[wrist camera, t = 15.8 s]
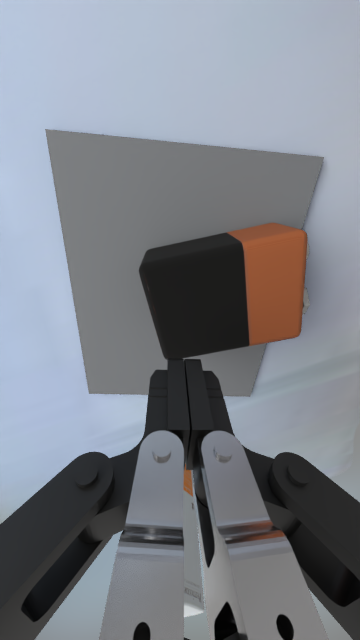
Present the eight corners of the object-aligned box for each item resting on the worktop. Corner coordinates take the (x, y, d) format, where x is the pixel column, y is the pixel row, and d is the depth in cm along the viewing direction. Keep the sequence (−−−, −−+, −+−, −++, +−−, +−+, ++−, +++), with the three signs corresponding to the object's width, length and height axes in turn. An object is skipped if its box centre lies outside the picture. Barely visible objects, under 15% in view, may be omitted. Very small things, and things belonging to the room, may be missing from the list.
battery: (164, 365, 15) (317, 337, 14) (134, 266, 12) (330, 224, 11) (165, 331, 19) (286, 307, 18) (143, 249, 16) (289, 217, 15)
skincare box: (193, 464, 29) (207, 613, 19) (166, 475, 30) (165, 622, 20) (166, 441, 27) (164, 598, 16) (137, 454, 28) (119, 610, 17)
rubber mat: (49, 131, 13) (45, 129, 12) (319, 158, 14) (324, 157, 14) (90, 389, 22) (88, 393, 22) (248, 392, 24) (250, 396, 23)
